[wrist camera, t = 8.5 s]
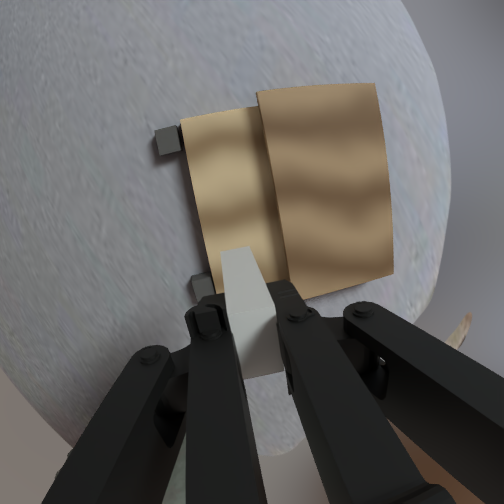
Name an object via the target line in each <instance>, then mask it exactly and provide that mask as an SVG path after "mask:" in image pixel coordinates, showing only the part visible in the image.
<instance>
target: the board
mask: <svg viewBox="0 0 504 504" xmlns="http://www.w3.org/2000/svg"><path fill="white" fill-rule="evenodd" d="M256 97H257V102H258V107H259V112H260V117H261V122H262V127H263V132H264V137H265V143H266V148H267V153H268V159H269V164H270V169H271V175H272V180H273V186H274V192H275V197H276V203H277V209H278V215H279V221H280V227H281V233H282V239H283V245H284V251H285V257H286V264H287V270H288V276H289V282H291V283H293V285H294V286H295V288H296V290H297V291H298V293H299V294H300V296H301V297H302V299H303V300H304V299H308V298H311V297H315V296H319V295H323V294H326V293H330V292H333V291H337V290H341V289H344V288H348V287H351V286H355V285H358V284H362V283H365V282H368V281H372V280H375V279H378V278H382V277H385V276H388V275H391V274H394V263H393V226H392V208H391V194H390V183H389V172H388V163H387V155H386V147H385V140H384V133H383V126H382V120H381V114H380V108H379V103H378V97H377V92H376V87H375V83H352V84H328V85H313V86H301V87H291V88H281V89H273V90H265V91H258V92H256Z"/></svg>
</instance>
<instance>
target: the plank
mask: <svg viewBox="0 0 504 504" xmlns="http://www.w3.org/2000/svg"><path fill="white" fill-rule="evenodd" d="M180 122H181V127H182V133H183V138H184V144H185V149H186V154H187V160H188V165H189V170H190V175H191V180H192V185H193V190H194V195H195V200H196V204H197V209H198V214H199V219H200V223H201V228H202V233H203V237H204V242H205V246H206V250H207V255H208V259H209V264H210V268H211V272H212V277H213V281H214V285H215V289H216V293H217V294H219V293H224V292H225V291H224V282H223V273H222V264H221V254H220V252H221V251H226V250H231V249H237V248H242V247H247V246H250V249H251V251H252V253H253V256H254V258H255V260H256V263H257V265H258V267H259V270H260V272H261V274H262V277H263V279H264V281H265V283H269V282H274V281H279V280H284V279H285V280H287V281H289V276H288V270H287V264H286V257H285V251H284V245H283V239H282V233H281V227H280V221H279V215H278V209H277V203H276V197H275V192H274V186H273V180H272V175H271V169H270V164H269V159H268V153H267V148H266V143H265V137H264V132H263V127H262V122H261V117H260V112H259V107H258V106H255V107H248V108H241V109H234V110H228V111H222V112H217V113H211V114H206V115H201V116H196V117H191V118H186V119H181V120H180Z"/></svg>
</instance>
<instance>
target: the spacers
mask: <svg viewBox="0 0 504 504" xmlns="http://www.w3.org/2000/svg"><path fill="white" fill-rule="evenodd" d="M155 136H156V141H157V145H158V150H159V155H160V156H162V155H166V154H170V153H174V152H178V151H182V147H181V143H180V138H179V133H178V128H177V126H176V125H175V126H171V127H167V128H163V129H159V130H155ZM191 282H192V285H193V289H194V292H195V296H196V299H197V302H199V301H200V300H201V299H202V297H203V296H208V295H214V294H216V291H215V287H214V283H213V279H212V275H211V272H207V273H202V274H198V275H193V276H192V281H191Z"/></svg>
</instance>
